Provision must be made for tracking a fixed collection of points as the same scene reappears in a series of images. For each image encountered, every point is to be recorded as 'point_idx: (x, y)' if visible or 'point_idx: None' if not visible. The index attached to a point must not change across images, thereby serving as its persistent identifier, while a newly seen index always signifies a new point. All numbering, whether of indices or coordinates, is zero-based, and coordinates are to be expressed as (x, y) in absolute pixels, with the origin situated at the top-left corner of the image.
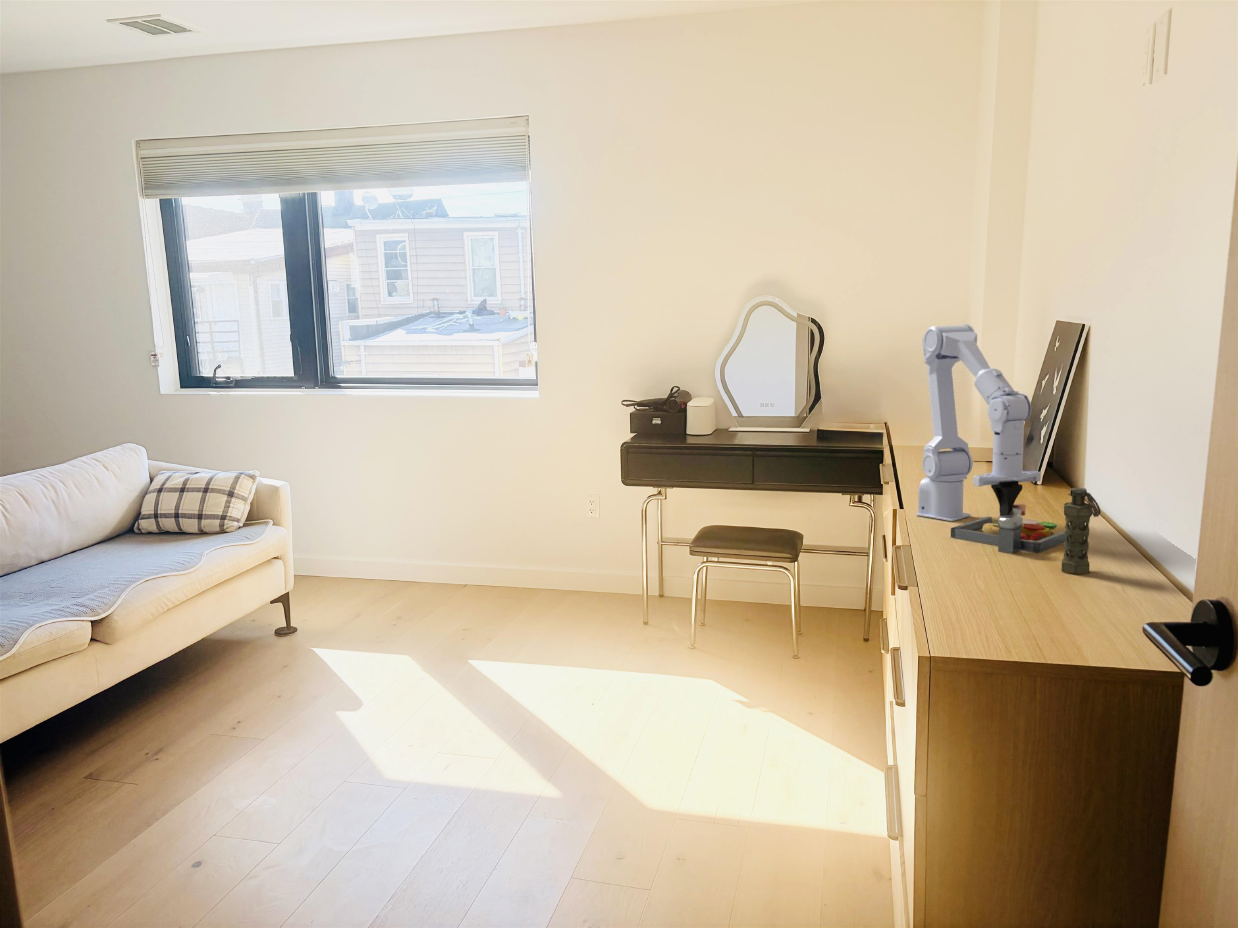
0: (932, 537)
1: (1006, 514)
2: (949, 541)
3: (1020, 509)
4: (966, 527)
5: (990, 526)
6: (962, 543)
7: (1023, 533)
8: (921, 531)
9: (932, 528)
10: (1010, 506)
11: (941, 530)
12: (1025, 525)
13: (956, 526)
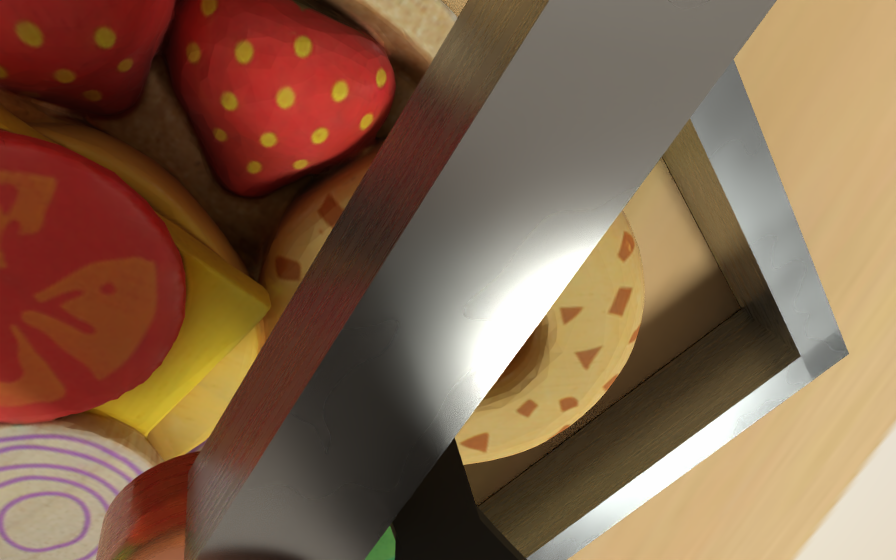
0: (886, 309)
1: (454, 443)
2: (873, 186)
3: (292, 433)
4: (663, 433)
5: (618, 283)
6: (835, 106)
7: (200, 217)
8: (833, 453)
9: (729, 524)
10: (452, 546)
11: (712, 485)
12: (149, 320)
13: (773, 405)
